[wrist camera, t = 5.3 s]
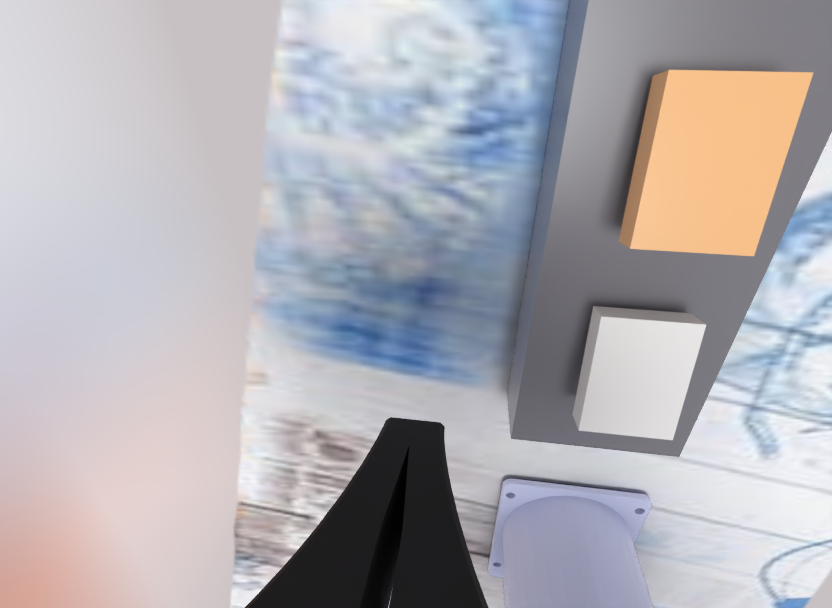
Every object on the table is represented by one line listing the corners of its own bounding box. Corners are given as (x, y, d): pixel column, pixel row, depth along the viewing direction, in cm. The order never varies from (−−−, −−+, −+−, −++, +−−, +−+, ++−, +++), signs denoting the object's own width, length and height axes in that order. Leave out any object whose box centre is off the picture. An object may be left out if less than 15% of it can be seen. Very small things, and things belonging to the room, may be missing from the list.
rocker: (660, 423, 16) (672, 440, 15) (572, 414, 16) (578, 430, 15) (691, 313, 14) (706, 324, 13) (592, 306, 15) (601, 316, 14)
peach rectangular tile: (733, 248, 12) (753, 256, 11) (618, 241, 13) (630, 248, 12) (784, 78, 11) (813, 72, 10) (652, 76, 11) (669, 69, 10)
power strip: (654, 407, 21) (683, 464, 18) (507, 392, 21) (511, 445, 18) (1081, -680, 8) (1455, -1140, 5) (667, -622, 8) (770, -990, 5)
